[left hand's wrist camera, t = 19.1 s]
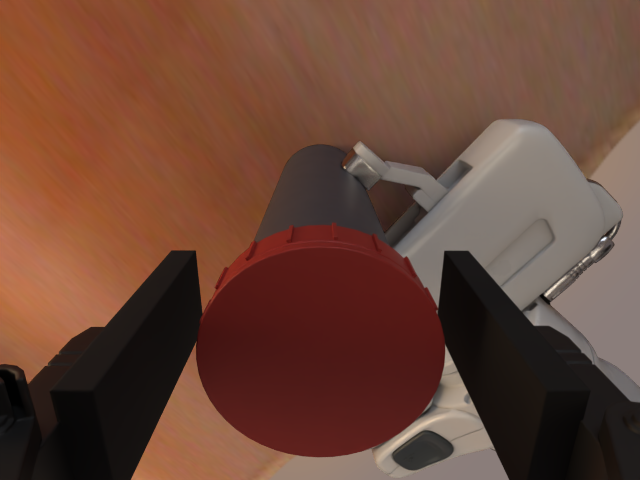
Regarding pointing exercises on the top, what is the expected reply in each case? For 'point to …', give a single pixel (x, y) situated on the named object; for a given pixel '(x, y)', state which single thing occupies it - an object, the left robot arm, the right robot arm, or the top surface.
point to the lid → (320, 342)
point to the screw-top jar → (319, 196)
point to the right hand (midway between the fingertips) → (306, 201)
